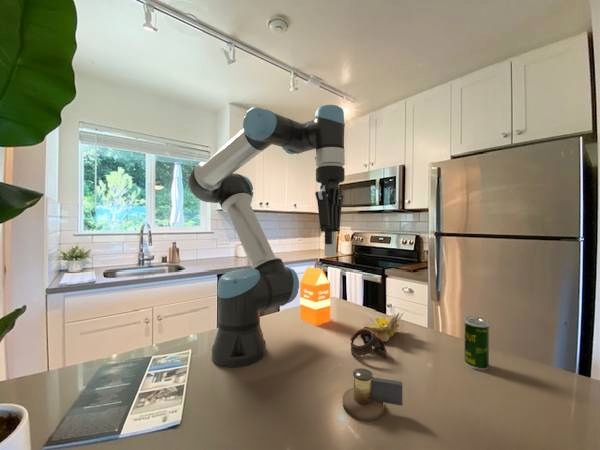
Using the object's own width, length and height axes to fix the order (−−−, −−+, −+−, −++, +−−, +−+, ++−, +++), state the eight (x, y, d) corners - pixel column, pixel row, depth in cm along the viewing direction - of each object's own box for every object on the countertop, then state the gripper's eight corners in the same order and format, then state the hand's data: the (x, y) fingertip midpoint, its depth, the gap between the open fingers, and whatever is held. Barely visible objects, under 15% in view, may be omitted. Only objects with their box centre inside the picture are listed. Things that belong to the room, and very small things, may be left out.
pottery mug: (394, 365, 72) (381, 341, 71) (361, 378, 74) (348, 355, 72) (382, 335, 84) (371, 314, 82) (354, 347, 85) (342, 326, 84)
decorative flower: (374, 318, 101) (379, 294, 99) (404, 333, 94) (410, 307, 92) (353, 334, 90) (359, 306, 87) (386, 352, 83) (393, 323, 80)
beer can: (475, 359, 74) (475, 315, 74) (494, 369, 69) (494, 322, 69) (459, 361, 73) (459, 317, 73) (477, 372, 68) (477, 324, 68)
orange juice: (314, 315, 110) (314, 265, 110) (330, 321, 104) (330, 268, 103) (299, 319, 105) (299, 267, 105) (315, 326, 99) (315, 270, 98)
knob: (352, 402, 54) (352, 376, 54) (354, 391, 58) (354, 367, 58) (402, 412, 51) (402, 384, 51) (401, 399, 55) (401, 374, 55)
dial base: (336, 410, 54) (336, 402, 54) (352, 389, 61) (352, 382, 61) (375, 427, 50) (375, 418, 50) (388, 403, 56) (388, 395, 56)
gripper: (327, 172, 80) (327, 253, 80) (305, 164, 68) (306, 258, 69) (352, 169, 76) (352, 254, 76) (333, 160, 65) (333, 260, 65)
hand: (330, 256), depth 72 cm, fingers closed
